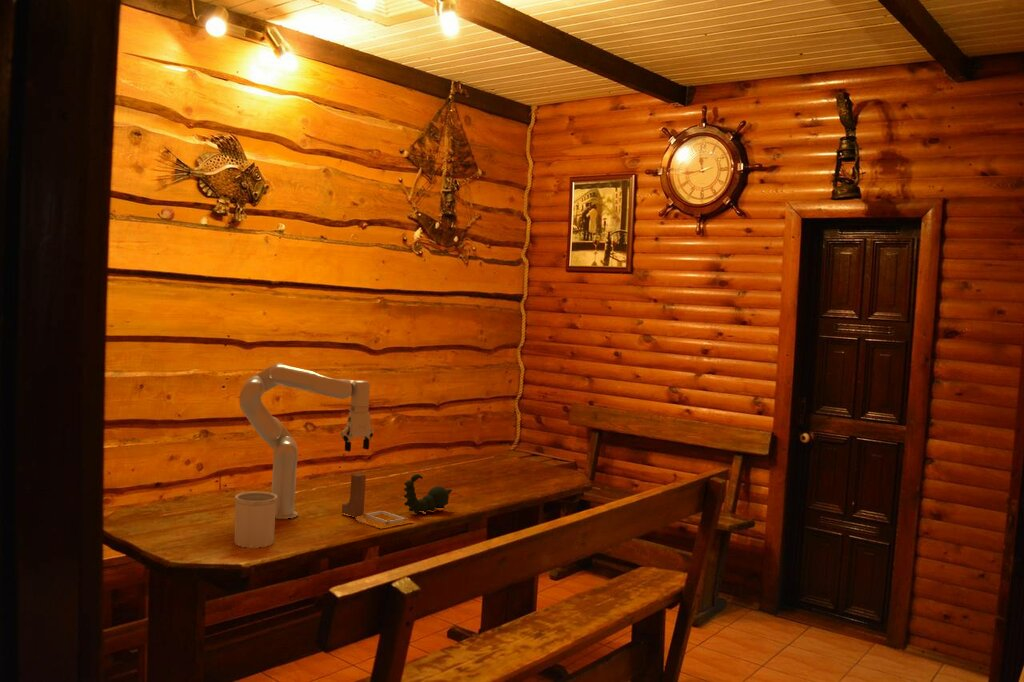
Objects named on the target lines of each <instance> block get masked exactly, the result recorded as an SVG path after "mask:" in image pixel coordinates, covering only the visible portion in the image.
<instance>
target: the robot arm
mask: <svg viewBox="0 0 1024 682" xmlns="http://www.w3.org/2000/svg"><path fill="white" fill-rule="evenodd" d="M277 386H281V387H287V388H291V389H295V390H296V389H297V390H301V391H305V392H308V393H314V394H318V395H322V396H326V397H332V398H335V399H340V400H343V399H344V400H345V399H347V398H349V397H350V407H348V411H349V412H348V416H347V420H346V426H345V428H344V429H342V430H341V431H340V435H341V438H342V439H343V441H344V451H345V452H351V450H352V442H351V441H352V439H353V438H355V439H357V438H364V439H363V440H362V441H363V442H362V449H363V450H367V451H368V450H369V449H370V441H371V440H372V438H373V436H374V433H375V431H376V430H375V428H373V427H372V420H371V419H372V418H371V413H370V412H369V407H370V389H371V383H370V382H369V381H368V380H363V379H355V380H352V379H347V378H338V379H337V378H331V377H328V376H326V375H321V374H319V373H317V372H315V371H312V370H309V369H305V368H299V367H295V366H291V365H286V364H285V363H283V362H277V363H276V362H275V363H274V364H272V365H270V366H268V367H267V368H265V369H263V370H261V371H260V372H258V373H256V374H253V375H252V376H250V377H248V378H247V380H245V383H244V384H243V387H242V389H241V391H240V394H239V397H238V399H239V401H238V403H239V407H240V410H241V411H242V413H243V415H244V416H245V417H246V419H247V421H248V422H249V423H250V425H251V426H252V428H253V429H254V430H255V432H256V433H257V435H259V438H260V439H261V440H263V441H264V442H266V443H267V444H268V445H269V447H270V448H271V450H272V451H273V455H272V456H273V457H272V458H273V459H272V460H273V461H272V474H271V475H272V476H271V477H272V478H271V492H270V493H274V494H276V495H277V501H276V514H275V518H276V519H275V520H289V519H288V518H291V519H295V518H297V517H298V516H299V515H298V513H299V512H297V511H296V510H295V501H296V499H295V498H296V488H297V487H296V486H297V485H296V483H297V470H298V469H297V467H298V455H299V449H298V444H297V441H296V440H295V438H294V437H293V435H292V434H291V433H290V432H289V431H288V429H287V428H286V427H285V426H284V424H283V423H282V422H281V420H280V419H279V418H277V417H276V416H273V415H272V414H271V413H270V411H269V410H268V408H267V407H266V406H265V405H264V403H263V401H262V397H263V395H264V394H265V393H266V392H268V391H270V390H271V389H274V388H275V387H277ZM297 515H298V516H297ZM296 516H297V517H296ZM294 517H295V518H294Z"/></svg>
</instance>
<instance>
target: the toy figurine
mask: <svg viewBox="0 0 1024 682" xmlns="http://www.w3.org/2000/svg"><path fill="white" fill-rule="evenodd" d="M419 479H421V480H422V479H423V475H421V474H419V473H418V474H416V473H415V474H414V475H412V476H411V478H410V479H409V480H407V481H406V482H404V484H403V485H404V486H406V487H404V489H403V490H404V492H405V494H404V495H403V497H404V498H405V499H406V501H405V502H404V506H405V507H409V508H408V511H409V512H410V511H412V512H413V513H414V512H415V513H417V514H419V511H424V512H426V511H427V510H431V511H434V510H435V511H437V509H436V508H444V509H445V506H446V505H448V504H449V499H450V496H449V495H450V494H451V492H452V491H453V489H446V488H444V487H443V486H441V485H440V486H434V487H432V488H431V489H429V491H428V492H427V495H424V496H423V497H422V498H420V499H418V498H417V494H416V492H415V491H416V487H415V482H416V481H418V480H419ZM427 512H428V511H427ZM415 513H414V514H415Z"/></svg>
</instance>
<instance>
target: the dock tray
mask: <svg viewBox="0 0 1024 682" xmlns="http://www.w3.org/2000/svg"><path fill="white" fill-rule="evenodd" d="M380 514H384V515H387V516H389V517H392V518H395V520H390V521H387V520H384V519H381V518H378V517H375V516H376V515H380ZM363 517H364V518H368V519H370V520H374V521H377V522H380V523H383V524H386V525H390V524H395V523H400V522H404V521H406V518H407V517H403V516H400V515H397V514H394V513H392V514H391V512H388V511H384V510H378V511H373V512H367V513H364V515H363ZM356 519H358V520H361V521H364V520H365V519H363V518H356ZM364 522H366V520H365V521H364ZM367 523H368V522H367ZM374 525H375V524H374ZM376 526H377V525H376Z"/></svg>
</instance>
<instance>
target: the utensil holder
mask: <svg viewBox="0 0 1024 682" xmlns="http://www.w3.org/2000/svg"><path fill="white" fill-rule="evenodd" d="M234 501H235V506H234V507H235V508H234V510H235V511H234V512H235V513H234V544H235V546H237V545H238V547H239V546H241V547H240V548H244V547H247V548H246V549H260V548H259V547H262V548H266V547H270V546H271V545H273V544H274V537H275V529H276V528H275V527H276V519H275V514H276V501H277V495H276V494H274V493H271V492H269V491H259V490H258V491H257V490H256V491H253V490H252V491H243V492H240V493H239V492H238V493H237V494H235V495H234Z"/></svg>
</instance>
